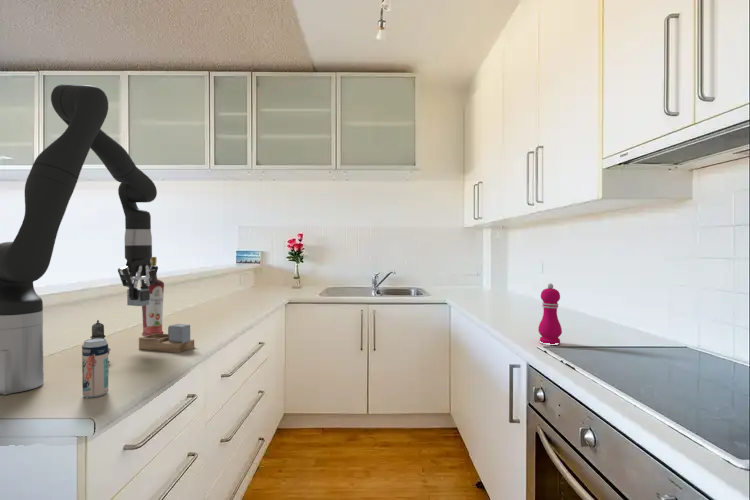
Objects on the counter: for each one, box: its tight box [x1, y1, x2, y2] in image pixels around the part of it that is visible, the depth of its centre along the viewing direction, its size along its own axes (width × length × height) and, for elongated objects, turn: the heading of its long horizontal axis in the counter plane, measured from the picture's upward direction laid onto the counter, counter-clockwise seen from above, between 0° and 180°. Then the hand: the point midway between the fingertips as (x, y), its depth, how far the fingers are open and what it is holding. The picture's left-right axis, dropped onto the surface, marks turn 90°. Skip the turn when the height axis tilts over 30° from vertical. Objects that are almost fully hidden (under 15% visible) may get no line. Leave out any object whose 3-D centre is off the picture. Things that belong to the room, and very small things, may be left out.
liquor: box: [140, 256, 165, 337], centre depth 155 cm, size 7×7×28 cm
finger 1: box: [126, 287, 150, 307], centre depth 139 cm, size 4×6×5 cm, turn 73°
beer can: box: [81, 337, 109, 399], centre depth 97 cm, size 5×5×12 cm
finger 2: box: [167, 323, 191, 343], centre depth 138 cm, size 4×6×5 cm, turn 72°
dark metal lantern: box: [90, 319, 111, 364], centre depth 122 cm, size 6×6×12 cm
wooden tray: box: [138, 333, 195, 354], centre depth 139 cm, size 7×15×4 cm, turn 72°
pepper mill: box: [537, 283, 563, 344], centre depth 147 cm, size 7×7×20 cm
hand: (139, 298), depth 139 cm, fingers closed on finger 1, 3 cm apart
